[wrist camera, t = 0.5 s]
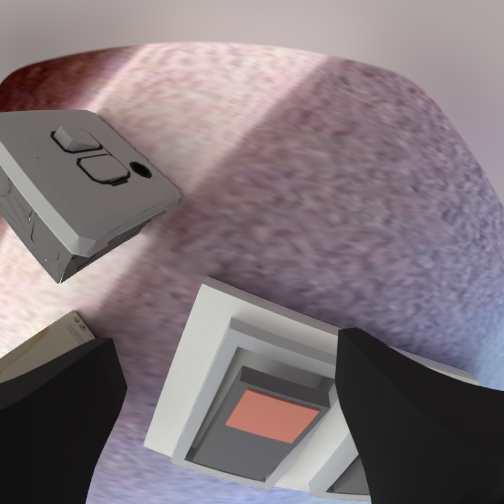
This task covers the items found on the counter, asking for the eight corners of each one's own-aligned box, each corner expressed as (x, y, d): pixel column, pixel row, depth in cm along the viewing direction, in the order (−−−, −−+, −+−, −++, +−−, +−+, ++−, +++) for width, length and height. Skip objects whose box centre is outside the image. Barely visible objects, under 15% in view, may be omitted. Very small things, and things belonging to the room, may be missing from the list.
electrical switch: (188, 196, 18) (114, 208, 9) (139, 256, 20) (53, 308, 10) (94, 110, 18) (-2, 81, 9) (55, 169, 19) (-43, 172, 10)
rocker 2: (380, 483, 19) (383, 495, 18) (333, 479, 19) (334, 493, 17) (454, 419, 16) (460, 432, 15) (407, 411, 16) (413, 426, 14)
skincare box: (75, 306, 20) (-45, 384, 7) (111, 354, 20) (18, 462, 8) (34, 345, 20) (-63, 416, 8) (66, 386, 21) (-16, 475, 8)
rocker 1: (262, 467, 18) (261, 481, 17) (195, 447, 18) (191, 462, 17) (328, 392, 15) (330, 410, 14) (242, 365, 15) (239, 382, 14)
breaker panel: (383, 484, 22) (394, 508, 19) (150, 430, 21) (137, 459, 17) (468, 371, 20) (490, 390, 17) (207, 275, 19) (196, 291, 16)
